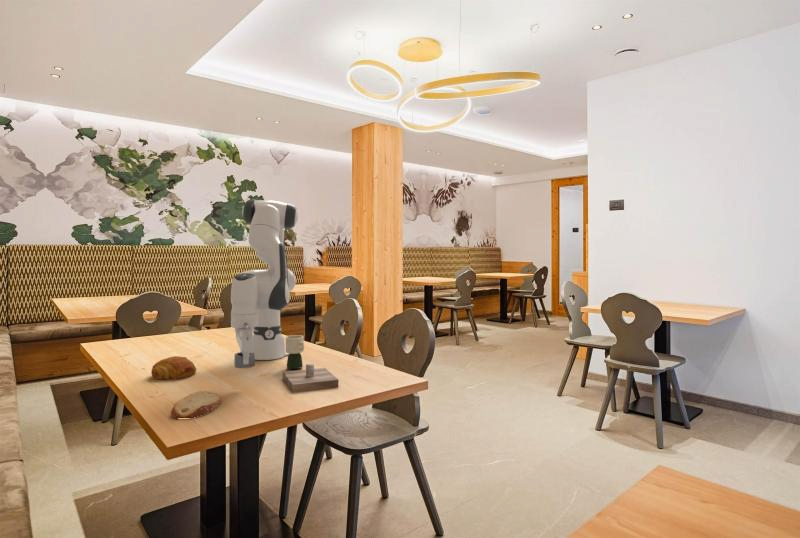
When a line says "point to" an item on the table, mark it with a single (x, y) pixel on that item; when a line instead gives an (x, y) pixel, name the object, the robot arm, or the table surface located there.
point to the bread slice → (196, 404)
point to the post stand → (310, 379)
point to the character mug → (294, 351)
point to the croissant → (173, 368)
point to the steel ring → (239, 360)
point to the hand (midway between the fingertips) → (244, 360)
